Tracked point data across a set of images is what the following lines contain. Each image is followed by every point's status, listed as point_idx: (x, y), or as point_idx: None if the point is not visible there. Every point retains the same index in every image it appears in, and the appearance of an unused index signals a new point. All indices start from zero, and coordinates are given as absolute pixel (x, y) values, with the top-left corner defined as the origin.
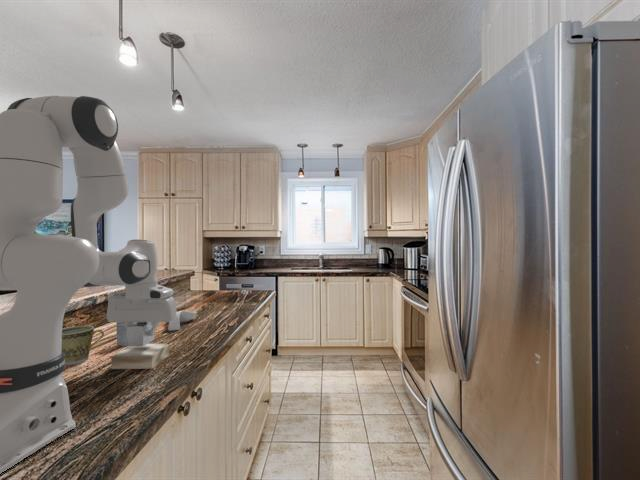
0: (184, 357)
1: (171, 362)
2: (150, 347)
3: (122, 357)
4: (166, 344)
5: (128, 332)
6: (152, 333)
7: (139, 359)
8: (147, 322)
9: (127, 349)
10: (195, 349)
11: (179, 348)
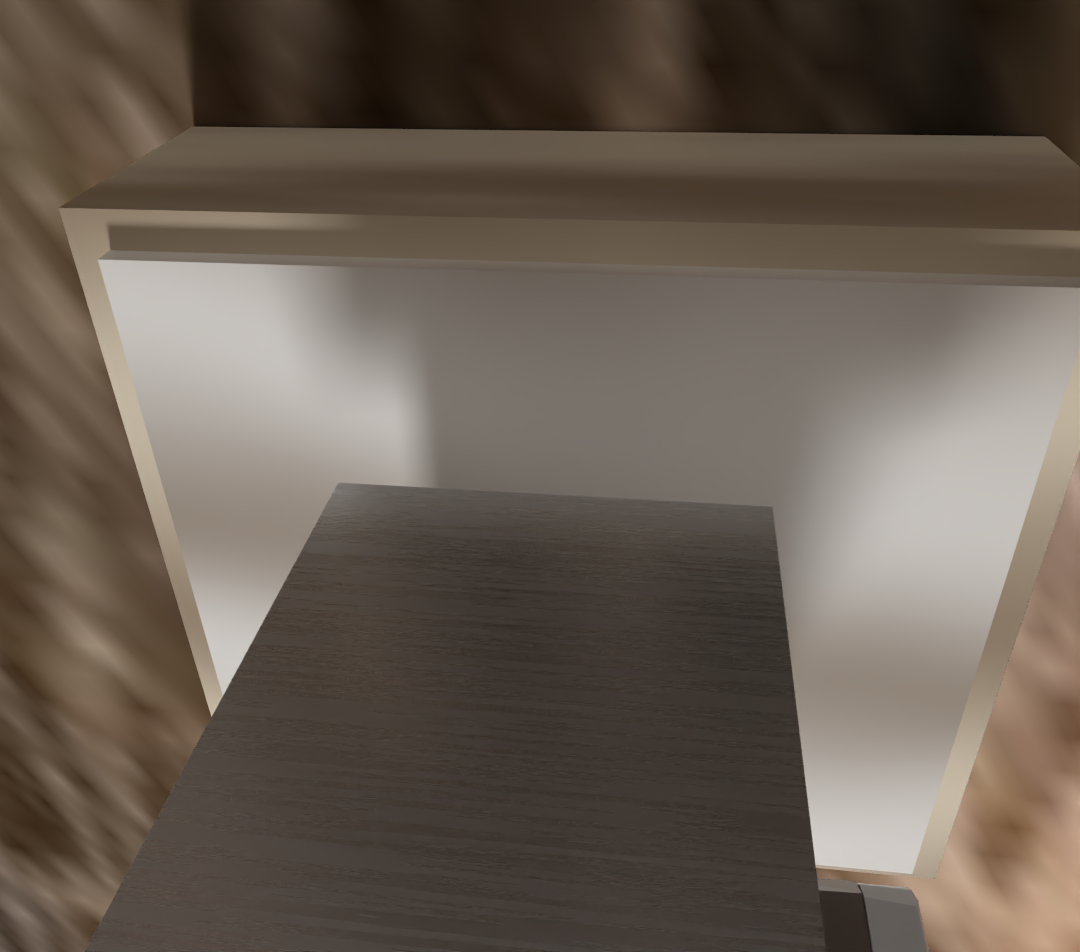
0: (23, 570)
1: (67, 398)
2: None
3: (817, 213)
4: None
5: (797, 878)
6: None
7: (384, 186)
8: None
9: (893, 614)
10: (95, 803)
11: None
